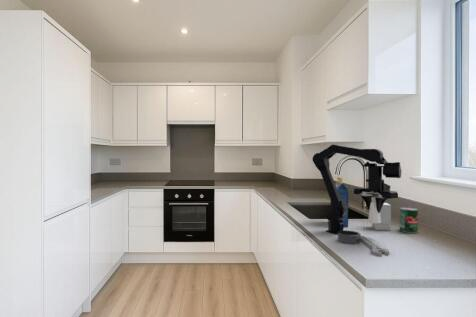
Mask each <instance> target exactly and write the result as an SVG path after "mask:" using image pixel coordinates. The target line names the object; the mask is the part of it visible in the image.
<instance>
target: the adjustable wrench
mask: <svg viewBox="0 0 476 317" xmlns="http://www.w3.org/2000/svg"><path fill="white" fill-rule="evenodd" d="M360 242H362V243H363V244H365V245H366V246H367V247H369V248H370V249H371V254H372V255H374V256H376V257H383V255H386V256H388V255H389V256H390V250H389V249H388V248H383V247H380V246H378V245H377V244H375V243H374V242H372V241H371V240H370V239H368V238H367V237H366V236H364V235H360Z"/></svg>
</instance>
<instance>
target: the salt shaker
mask: <svg viewBox="0 0 476 317" xmlns="http://www.w3.org/2000/svg"><path fill="white" fill-rule="evenodd" d="M376 198H378V197H377V196H374V197H372V198H371V199H372V202H371V203H370V210H369V209H368V219H367V222H368V223H371V224H372V223H381V216H380V213H378V211H377V207H376Z"/></svg>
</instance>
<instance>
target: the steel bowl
mask: <svg viewBox="0 0 476 317" xmlns="http://www.w3.org/2000/svg"><path fill="white" fill-rule="evenodd" d="M360 236H362V235H361V233H360V232H359V231H355V230H345V229H343V231H339V232H338V234H337V241H338V242H339V243H343V244H346V245H357V244H360V243H361V240H360Z"/></svg>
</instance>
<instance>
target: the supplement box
mask: <svg viewBox="0 0 476 317" xmlns="http://www.w3.org/2000/svg"><path fill="white" fill-rule="evenodd" d="M380 216H381V223H371V227H372V228H373V229H374V230H376V231H378V230H379V231H391V229H392V228H391V227H392V226H391V225H392V204H389V203H388V202H384V204H383V206H382V208H381V211H380Z"/></svg>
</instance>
